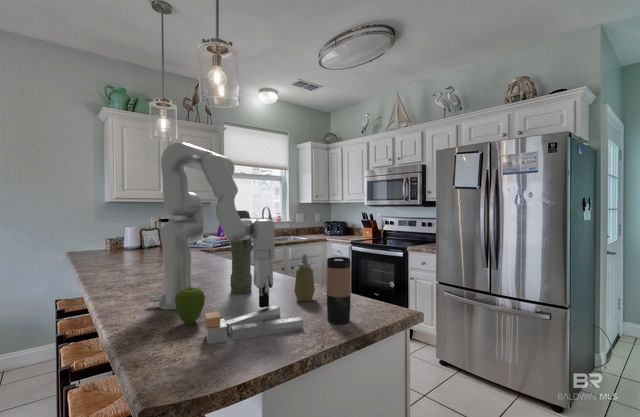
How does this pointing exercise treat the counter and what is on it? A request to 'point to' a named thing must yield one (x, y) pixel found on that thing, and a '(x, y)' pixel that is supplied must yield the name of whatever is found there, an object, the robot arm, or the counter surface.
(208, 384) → the counter surface
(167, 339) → the counter surface
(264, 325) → the base
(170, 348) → the counter surface
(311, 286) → the squeeze bottle
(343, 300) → the travel mug
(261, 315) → the arm
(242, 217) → the thermos
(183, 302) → the apple
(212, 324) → the block
